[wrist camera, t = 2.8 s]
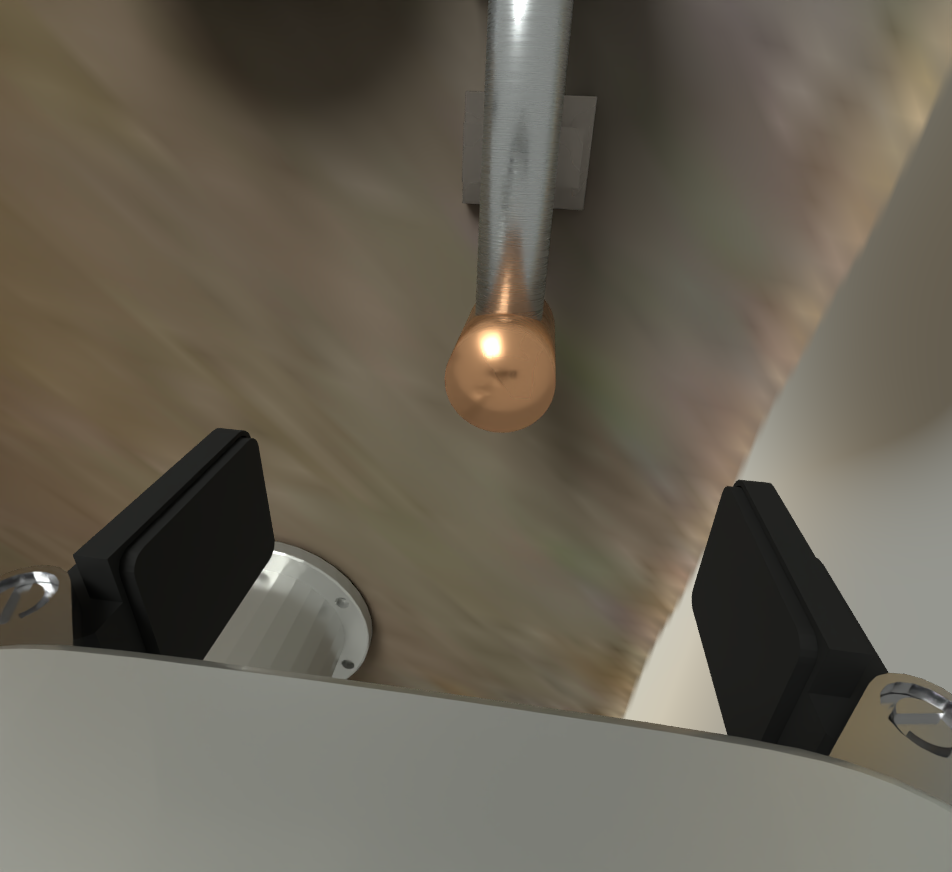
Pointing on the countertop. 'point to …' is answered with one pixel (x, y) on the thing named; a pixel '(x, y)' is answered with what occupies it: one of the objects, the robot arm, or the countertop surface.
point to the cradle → (570, 155)
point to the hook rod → (514, 220)
